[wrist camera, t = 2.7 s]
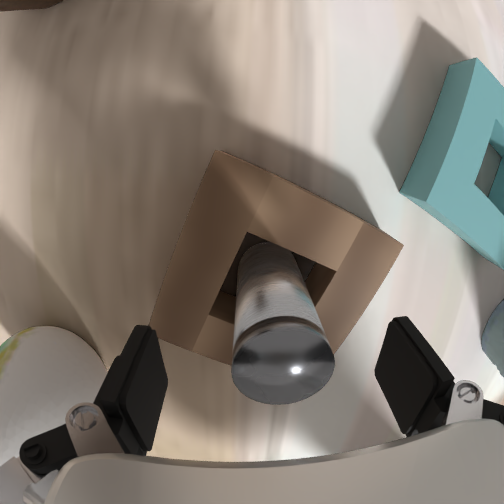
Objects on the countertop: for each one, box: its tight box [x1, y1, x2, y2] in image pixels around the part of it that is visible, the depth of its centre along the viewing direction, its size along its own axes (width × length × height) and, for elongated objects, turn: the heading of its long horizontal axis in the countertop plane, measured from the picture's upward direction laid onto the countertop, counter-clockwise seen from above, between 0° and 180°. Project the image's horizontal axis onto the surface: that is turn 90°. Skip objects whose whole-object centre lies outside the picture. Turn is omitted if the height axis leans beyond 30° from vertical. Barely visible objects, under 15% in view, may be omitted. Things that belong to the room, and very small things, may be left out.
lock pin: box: [231, 242, 335, 404], centre depth 15 cm, size 4×4×10 cm
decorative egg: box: [0, 326, 107, 466], centre depth 16 cm, size 12×12×15 cm
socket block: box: [399, 58, 504, 270], centre depth 15 cm, size 12×12×4 cm
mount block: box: [149, 150, 404, 366], centre depth 18 cm, size 12×12×4 cm
